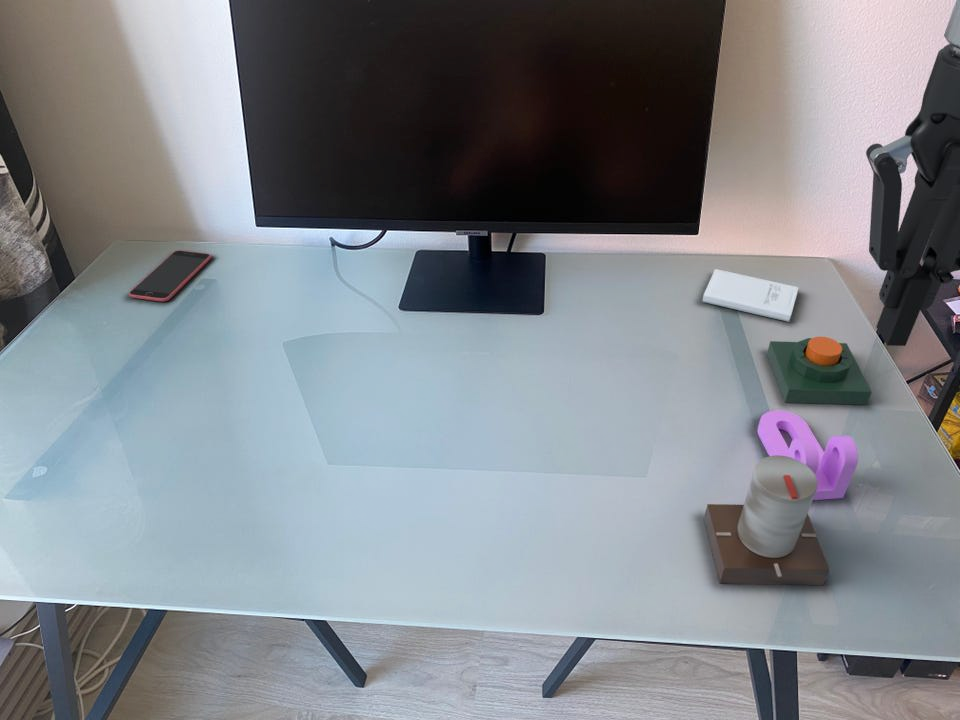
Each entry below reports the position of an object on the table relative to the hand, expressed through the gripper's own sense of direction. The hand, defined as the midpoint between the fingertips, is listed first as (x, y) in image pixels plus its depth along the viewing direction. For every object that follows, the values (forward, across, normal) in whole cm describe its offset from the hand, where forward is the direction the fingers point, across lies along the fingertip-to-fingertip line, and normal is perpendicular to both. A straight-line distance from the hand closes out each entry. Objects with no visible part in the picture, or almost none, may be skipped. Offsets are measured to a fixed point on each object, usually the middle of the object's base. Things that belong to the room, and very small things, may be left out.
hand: (890, 335), depth 65 cm
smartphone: (+24, -88, +45) cm, 102 cm away
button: (+21, +6, +24) cm, 32 cm away
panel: (+24, -7, -4) cm, 26 cm away
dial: (+22, -7, -4) cm, 23 cm away
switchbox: (+24, +6, +24) cm, 35 cm away
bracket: (+25, 0, +9) cm, 26 cm away
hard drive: (+25, +2, +42) cm, 49 cm away
